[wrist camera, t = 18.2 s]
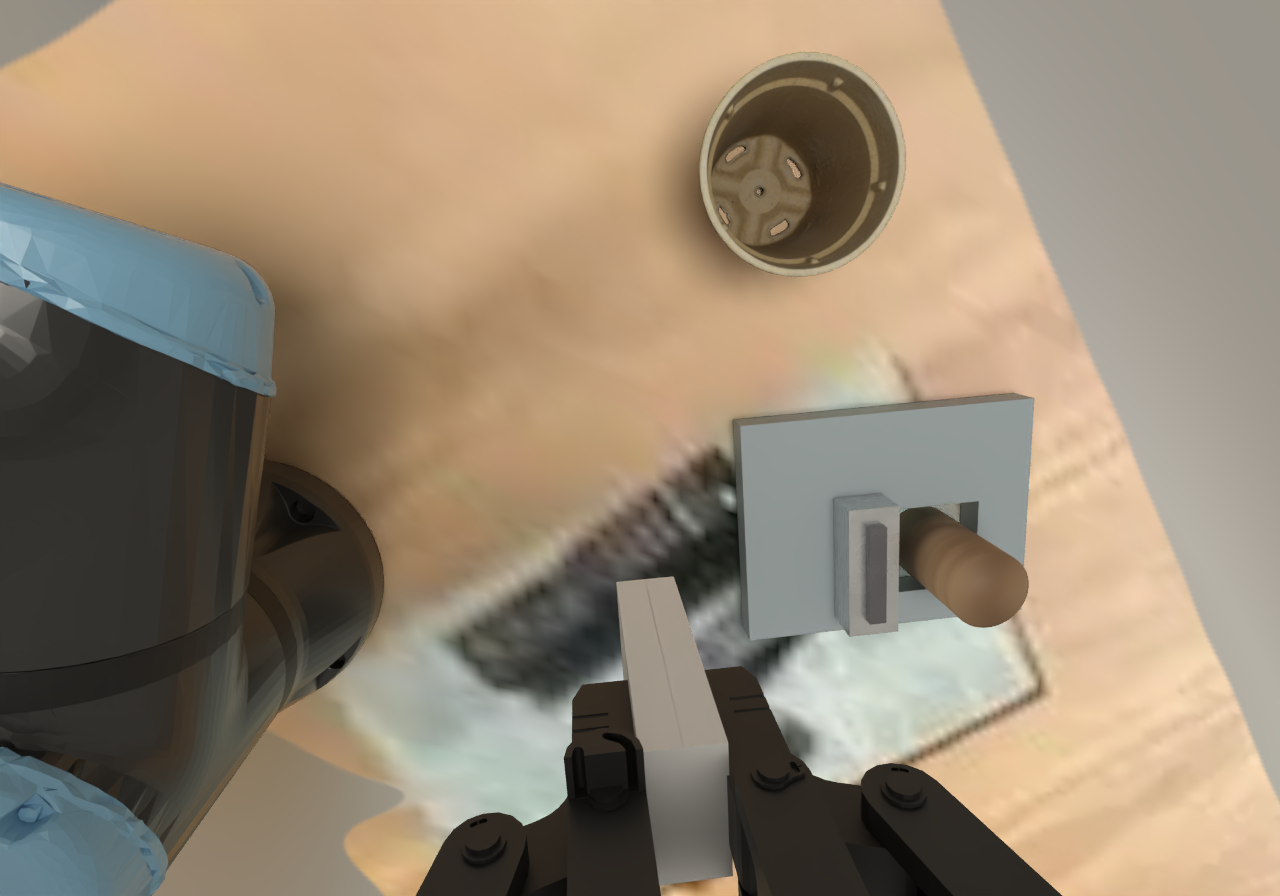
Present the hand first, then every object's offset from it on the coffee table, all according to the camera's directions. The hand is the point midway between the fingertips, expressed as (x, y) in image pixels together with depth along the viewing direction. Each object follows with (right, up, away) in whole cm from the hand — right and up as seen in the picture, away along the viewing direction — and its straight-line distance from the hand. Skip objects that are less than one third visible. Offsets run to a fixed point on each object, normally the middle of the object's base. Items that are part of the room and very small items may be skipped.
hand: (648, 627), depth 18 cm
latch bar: (+13, -2, +24) cm, 28 cm away
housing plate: (+15, +1, +26) cm, 30 cm away
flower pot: (+7, +19, +21) cm, 29 cm away
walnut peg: (+18, -1, +27) cm, 32 cm away
